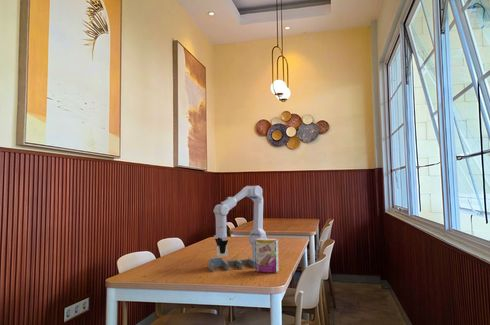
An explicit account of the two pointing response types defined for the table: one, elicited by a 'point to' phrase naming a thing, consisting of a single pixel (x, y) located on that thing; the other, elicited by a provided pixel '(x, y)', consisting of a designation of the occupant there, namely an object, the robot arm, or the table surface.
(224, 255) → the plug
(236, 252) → the table surface
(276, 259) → the candy bar box
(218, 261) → the e-shaped shelf rack
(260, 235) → the robot arm
